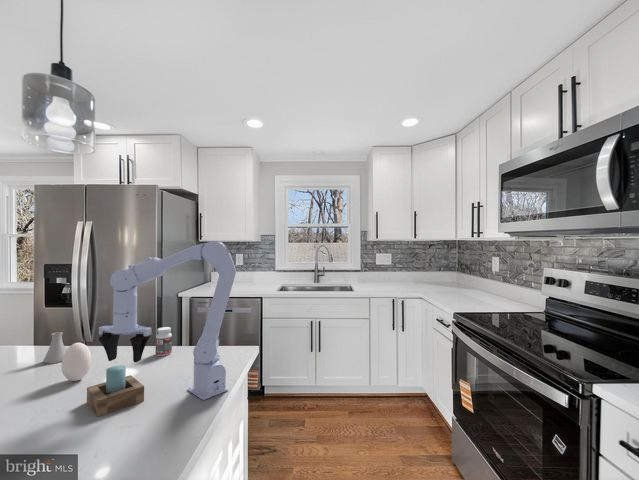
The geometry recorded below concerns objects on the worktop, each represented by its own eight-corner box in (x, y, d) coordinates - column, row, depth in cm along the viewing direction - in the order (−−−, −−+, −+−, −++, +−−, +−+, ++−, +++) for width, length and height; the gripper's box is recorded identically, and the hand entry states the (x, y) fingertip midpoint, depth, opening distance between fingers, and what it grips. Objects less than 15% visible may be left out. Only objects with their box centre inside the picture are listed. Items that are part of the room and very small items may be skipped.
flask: (38, 362, 111) (38, 335, 111) (60, 356, 117) (60, 329, 118) (52, 365, 108) (52, 336, 109) (74, 358, 115) (74, 331, 116)
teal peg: (127, 401, 84) (128, 368, 84) (108, 407, 81) (109, 373, 81) (122, 396, 87) (122, 364, 87) (103, 401, 84) (104, 368, 84)
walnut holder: (144, 400, 84) (144, 386, 84) (97, 416, 76) (97, 400, 76) (130, 388, 91) (130, 375, 91) (86, 402, 83) (87, 387, 83)
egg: (69, 376, 99) (69, 340, 99) (95, 374, 101) (96, 338, 101) (55, 387, 92) (56, 347, 92) (84, 384, 94) (85, 345, 94)
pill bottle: (167, 356, 117) (167, 330, 118) (152, 356, 118) (152, 330, 118) (174, 351, 123) (174, 326, 123) (160, 351, 123) (160, 326, 123)
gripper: (158, 309, 90) (157, 356, 89) (112, 308, 91) (112, 354, 91) (141, 315, 83) (141, 365, 82) (92, 313, 84) (92, 363, 84)
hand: (124, 360), depth 86 cm, fingers open, 7 cm apart
